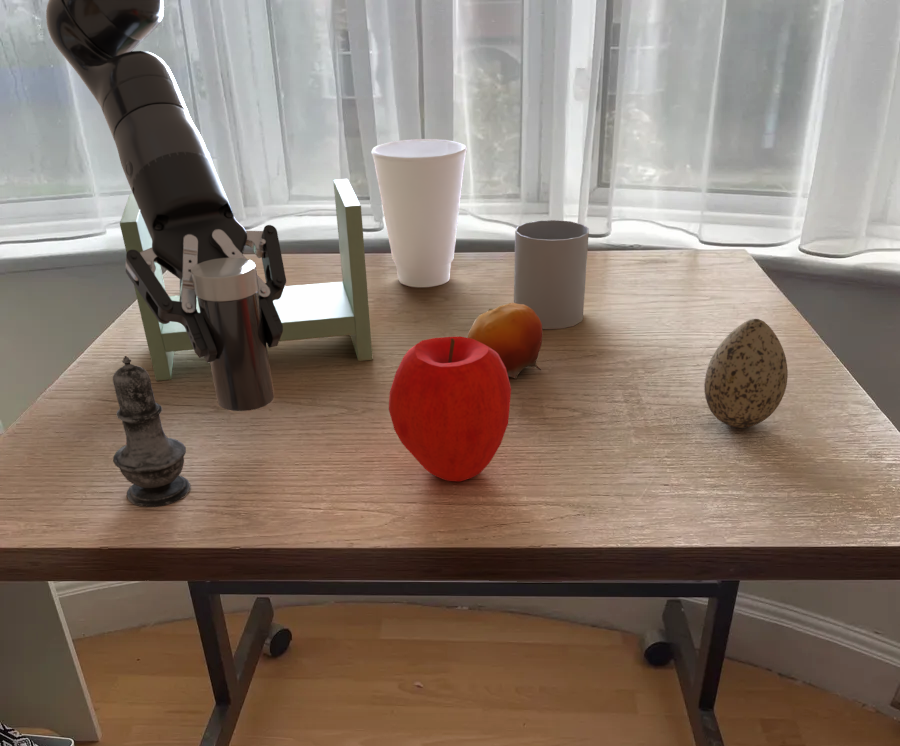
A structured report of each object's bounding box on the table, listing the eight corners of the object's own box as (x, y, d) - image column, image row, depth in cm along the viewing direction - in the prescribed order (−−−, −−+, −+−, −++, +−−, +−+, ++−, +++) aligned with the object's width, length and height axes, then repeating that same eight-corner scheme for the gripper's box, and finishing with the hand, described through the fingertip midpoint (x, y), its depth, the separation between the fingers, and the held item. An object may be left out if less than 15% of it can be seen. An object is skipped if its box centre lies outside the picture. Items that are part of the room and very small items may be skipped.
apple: (377, 492, 76) (365, 353, 68) (419, 440, 83) (413, 310, 76) (489, 511, 73) (490, 368, 66) (523, 456, 80) (527, 322, 73)
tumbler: (216, 415, 81) (189, 280, 73) (216, 390, 85) (191, 260, 77) (277, 408, 81) (256, 274, 74) (274, 384, 86) (254, 255, 78)
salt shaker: (127, 514, 74) (88, 376, 66) (119, 482, 78) (83, 348, 71) (199, 499, 75) (169, 363, 68) (188, 468, 80) (159, 337, 73)
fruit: (530, 381, 90) (497, 305, 88) (475, 402, 95) (443, 332, 93) (572, 355, 95) (541, 283, 93) (517, 377, 101) (488, 309, 98)
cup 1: (361, 281, 120) (351, 150, 110) (420, 260, 127) (415, 135, 118) (428, 299, 114) (423, 162, 104) (486, 275, 121) (486, 145, 111)
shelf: (156, 381, 95) (119, 222, 86) (161, 340, 105) (129, 193, 95) (372, 359, 99) (361, 205, 89) (359, 322, 108) (347, 178, 98)
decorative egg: (697, 438, 82) (715, 332, 76) (698, 405, 88) (714, 303, 82) (779, 444, 81) (803, 337, 75) (774, 410, 87) (796, 308, 81)
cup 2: (503, 323, 107) (504, 236, 101) (526, 301, 113) (528, 217, 107) (572, 332, 104) (577, 243, 98) (591, 309, 110) (597, 223, 104)
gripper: (243, 190, 86) (310, 351, 85) (90, 214, 80) (160, 388, 79) (255, 138, 79) (328, 312, 78) (89, 160, 73) (166, 349, 72)
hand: (243, 349), depth 79 cm, fingers closed on tumbler, 5 cm apart
